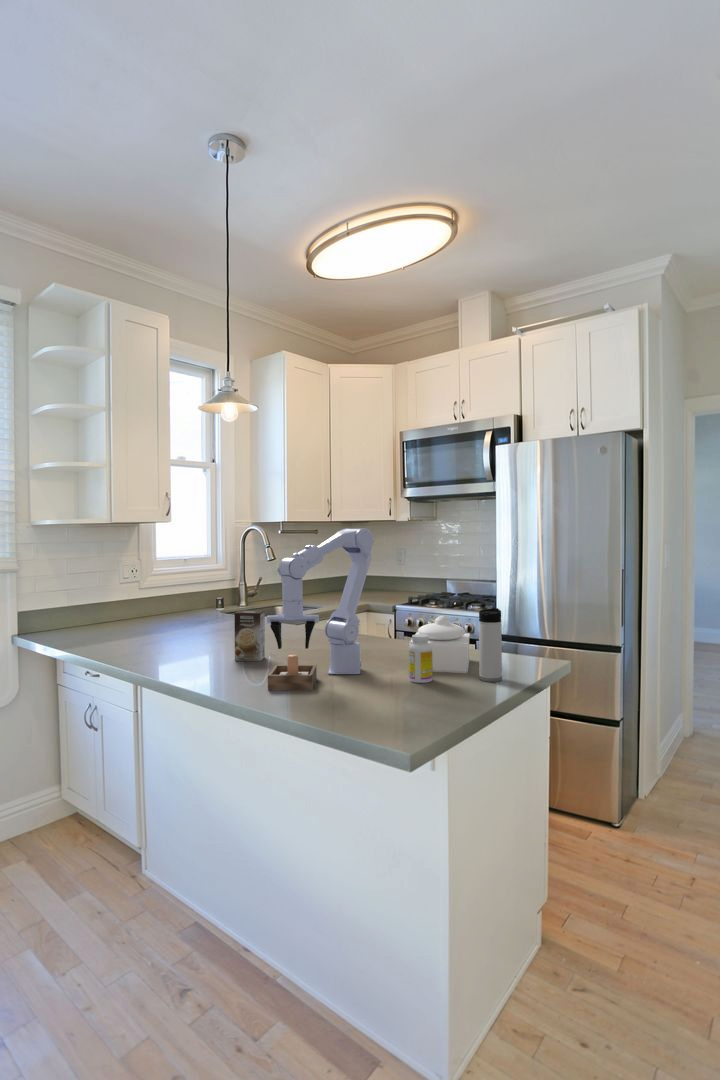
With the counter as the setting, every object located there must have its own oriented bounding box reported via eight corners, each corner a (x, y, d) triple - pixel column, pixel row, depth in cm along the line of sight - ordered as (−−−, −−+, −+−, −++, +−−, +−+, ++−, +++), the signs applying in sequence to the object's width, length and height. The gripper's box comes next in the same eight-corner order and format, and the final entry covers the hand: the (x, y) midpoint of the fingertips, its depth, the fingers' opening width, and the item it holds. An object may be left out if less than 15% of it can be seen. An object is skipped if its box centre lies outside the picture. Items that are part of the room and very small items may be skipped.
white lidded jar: (409, 671, 176) (408, 619, 175) (416, 658, 193) (416, 610, 193) (467, 673, 172) (467, 620, 172) (469, 660, 189) (469, 611, 189)
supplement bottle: (435, 679, 166) (435, 634, 165) (428, 684, 160) (428, 638, 159) (413, 676, 168) (413, 632, 168) (405, 682, 162) (405, 636, 162)
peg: (299, 682, 163) (298, 654, 163) (297, 685, 160) (297, 657, 160) (288, 682, 163) (288, 654, 163) (286, 685, 160) (286, 657, 160)
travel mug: (506, 678, 165) (506, 608, 164) (494, 683, 160) (494, 611, 160) (487, 675, 169) (486, 607, 169) (475, 679, 164) (474, 609, 164)
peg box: (316, 678, 168) (316, 664, 168) (312, 690, 156) (312, 675, 156) (275, 678, 168) (275, 665, 168) (267, 690, 156) (267, 675, 156)
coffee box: (233, 661, 192) (232, 612, 191) (239, 656, 198) (238, 610, 198) (260, 661, 191) (260, 612, 190) (265, 657, 197) (265, 610, 197)
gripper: (264, 602, 159) (265, 651, 160) (316, 601, 159) (317, 650, 159) (268, 599, 166) (269, 646, 167) (319, 598, 166) (319, 645, 166)
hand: (293, 648), depth 163 cm, fingers open, 7 cm apart
